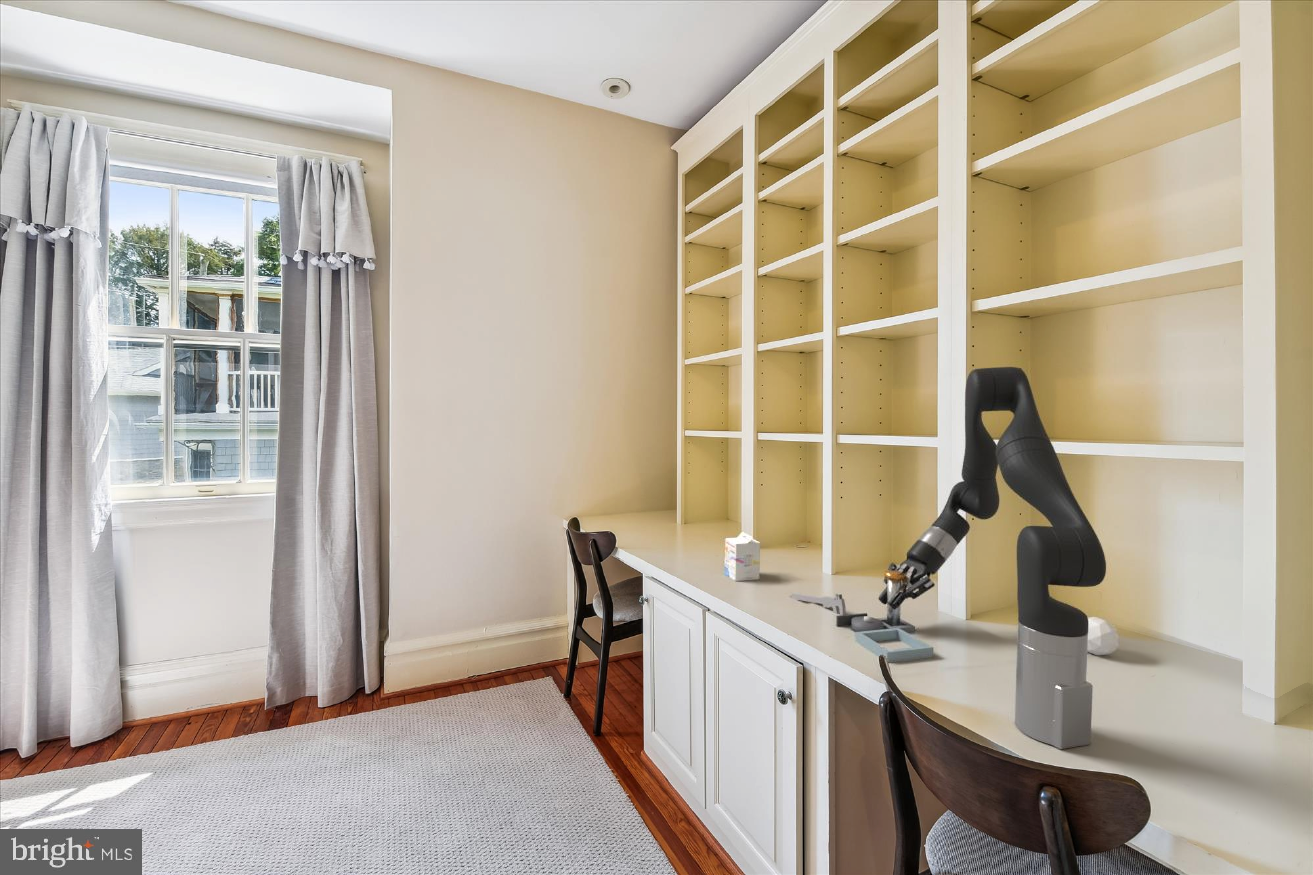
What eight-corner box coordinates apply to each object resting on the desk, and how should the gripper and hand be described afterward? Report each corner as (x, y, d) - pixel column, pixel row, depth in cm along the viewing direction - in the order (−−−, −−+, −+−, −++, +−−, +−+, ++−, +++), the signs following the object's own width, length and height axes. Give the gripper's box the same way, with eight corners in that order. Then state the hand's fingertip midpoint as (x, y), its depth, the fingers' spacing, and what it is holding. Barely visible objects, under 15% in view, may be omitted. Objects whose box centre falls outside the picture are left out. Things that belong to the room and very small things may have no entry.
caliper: (845, 620, 141) (846, 595, 141) (842, 621, 141) (842, 596, 141) (791, 596, 160) (792, 574, 159) (788, 597, 159) (789, 575, 159)
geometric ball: (1103, 669, 120) (1110, 648, 116) (1063, 644, 126) (1068, 623, 122) (1123, 648, 123) (1131, 626, 118) (1083, 624, 129) (1089, 602, 124)
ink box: (723, 574, 181) (724, 532, 181) (747, 572, 184) (748, 530, 183) (735, 581, 173) (736, 538, 172) (760, 579, 175) (760, 536, 175)
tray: (933, 661, 117) (933, 647, 117) (886, 667, 115) (887, 652, 115) (898, 640, 128) (898, 627, 128) (855, 645, 125) (855, 632, 125)
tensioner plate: (919, 637, 130) (919, 620, 130) (857, 644, 126) (858, 626, 126) (893, 623, 139) (894, 607, 139) (835, 629, 135) (835, 612, 135)
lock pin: (907, 630, 132) (909, 574, 131) (891, 631, 131) (892, 576, 130) (895, 623, 136) (896, 569, 136) (879, 624, 135) (880, 570, 135)
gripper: (902, 533, 141) (858, 585, 139) (944, 546, 128) (896, 603, 125) (920, 553, 143) (877, 604, 140) (963, 567, 129) (916, 625, 127)
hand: (886, 604), depth 133 cm, fingers closed on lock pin, 3 cm apart
